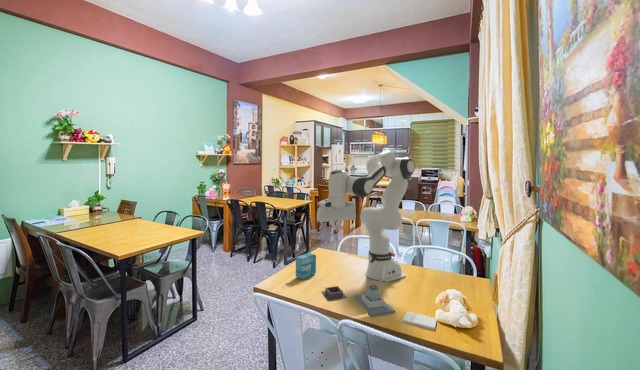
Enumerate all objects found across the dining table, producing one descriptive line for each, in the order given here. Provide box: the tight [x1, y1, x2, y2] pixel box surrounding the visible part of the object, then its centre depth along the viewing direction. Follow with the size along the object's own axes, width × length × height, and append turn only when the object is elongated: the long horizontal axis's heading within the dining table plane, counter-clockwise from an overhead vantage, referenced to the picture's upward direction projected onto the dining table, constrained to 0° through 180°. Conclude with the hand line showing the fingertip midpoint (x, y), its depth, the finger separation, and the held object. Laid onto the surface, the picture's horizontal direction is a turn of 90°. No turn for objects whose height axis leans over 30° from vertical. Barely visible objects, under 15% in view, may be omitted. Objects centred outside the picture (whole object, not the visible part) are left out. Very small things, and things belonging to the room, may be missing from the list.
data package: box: [295, 252, 317, 280], centre depth 165 cm, size 12×4×12 cm, turn 138°
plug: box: [366, 284, 381, 302], centre depth 134 cm, size 4×4×8 cm
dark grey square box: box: [321, 285, 348, 302], centre depth 141 cm, size 10×10×4 cm
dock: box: [352, 293, 396, 318], centre depth 134 cm, size 12×18×4 cm, turn 19°
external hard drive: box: [402, 311, 438, 331], centre depth 121 cm, size 2×8×12 cm
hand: (336, 229), depth 148 cm, fingers closed
